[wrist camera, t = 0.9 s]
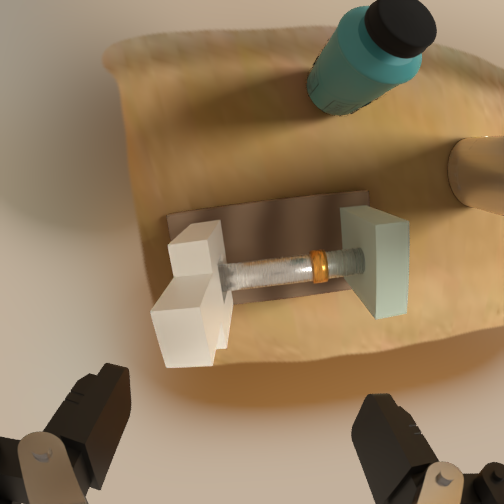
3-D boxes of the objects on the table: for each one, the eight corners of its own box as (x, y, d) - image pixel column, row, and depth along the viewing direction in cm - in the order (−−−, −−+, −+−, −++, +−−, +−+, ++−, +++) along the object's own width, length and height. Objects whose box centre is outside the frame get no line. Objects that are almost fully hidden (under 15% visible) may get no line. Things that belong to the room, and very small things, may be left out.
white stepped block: (220, 219, 31) (191, 264, 17) (233, 303, 33) (219, 395, 19) (190, 223, 31) (140, 270, 17) (205, 306, 34) (176, 397, 19)
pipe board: (364, 190, 34) (368, 191, 32) (368, 281, 36) (372, 286, 35) (169, 213, 34) (166, 215, 33) (187, 304, 37) (184, 309, 36)
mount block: (365, 205, 33) (409, 221, 22) (368, 274, 35) (406, 313, 24) (339, 207, 33) (375, 225, 23) (343, 278, 35) (375, 319, 25)
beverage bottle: (341, 130, 32) (438, 94, 13) (290, 97, 31) (334, 16, 12) (368, 87, 31) (470, 25, 11) (319, 55, 30) (381, -43, 10)
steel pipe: (370, 239, 28) (381, 247, 26) (370, 268, 29) (381, 278, 26) (179, 262, 29) (172, 272, 26) (185, 291, 30) (179, 303, 27)
